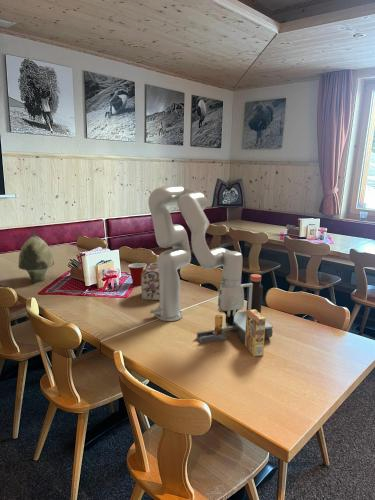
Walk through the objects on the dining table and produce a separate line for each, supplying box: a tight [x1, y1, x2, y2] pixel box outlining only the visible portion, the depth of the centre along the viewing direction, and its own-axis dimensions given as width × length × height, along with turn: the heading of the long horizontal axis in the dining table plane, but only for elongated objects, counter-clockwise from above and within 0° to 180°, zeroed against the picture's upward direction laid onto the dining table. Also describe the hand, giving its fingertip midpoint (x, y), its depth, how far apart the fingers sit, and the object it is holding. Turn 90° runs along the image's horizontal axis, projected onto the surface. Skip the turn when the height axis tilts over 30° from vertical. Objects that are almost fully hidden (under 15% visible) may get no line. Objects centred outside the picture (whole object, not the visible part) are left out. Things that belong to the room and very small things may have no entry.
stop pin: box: [213, 314, 238, 335], centre depth 153 cm, size 10×3×8 cm, turn 110°
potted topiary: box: [18, 231, 55, 283], centre depth 217 cm, size 19×20×30 cm
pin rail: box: [196, 329, 227, 344], centre depth 151 cm, size 11×5×2 cm, turn 110°
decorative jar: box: [140, 262, 159, 301], centre depth 195 cm, size 12×12×18 cm
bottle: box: [245, 273, 264, 315], centre depth 173 cm, size 7×7×20 cm
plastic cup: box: [127, 262, 148, 287], centre depth 215 cm, size 11×11×12 cm
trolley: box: [225, 282, 274, 343], centre depth 155 cm, size 13×18×19 cm
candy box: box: [244, 309, 267, 357], centre depth 141 cm, size 9×4×15 cm, turn 16°
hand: (229, 323), depth 153 cm, fingers closed
